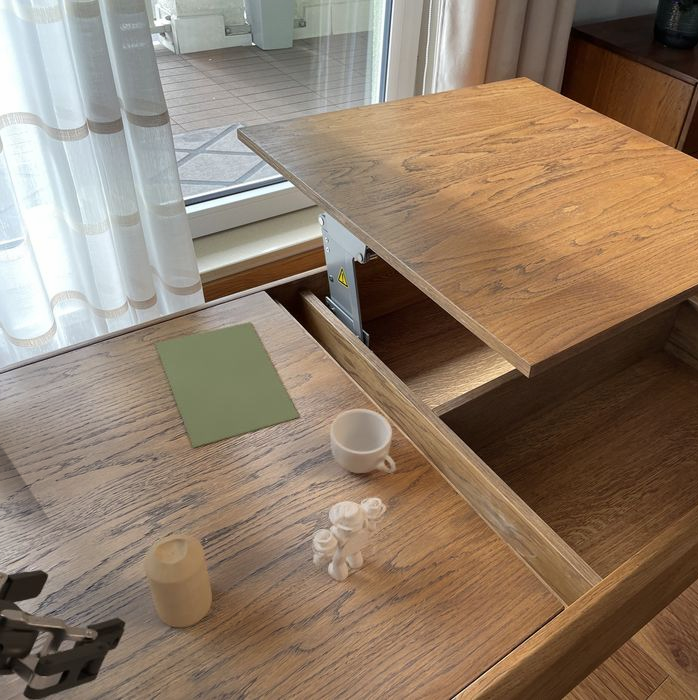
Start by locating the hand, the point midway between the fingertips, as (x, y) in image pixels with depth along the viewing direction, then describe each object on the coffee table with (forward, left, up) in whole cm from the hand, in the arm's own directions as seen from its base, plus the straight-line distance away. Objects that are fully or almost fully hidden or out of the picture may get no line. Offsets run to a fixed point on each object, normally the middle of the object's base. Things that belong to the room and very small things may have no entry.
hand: (79, 606), depth 59 cm
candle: (+8, +5, -14) cm, 17 cm away
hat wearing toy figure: (+25, +2, -14) cm, 29 cm away
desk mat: (+21, +37, -14) cm, 45 cm away
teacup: (+33, +15, -14) cm, 39 cm away
